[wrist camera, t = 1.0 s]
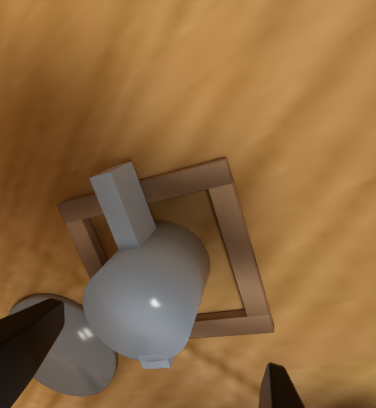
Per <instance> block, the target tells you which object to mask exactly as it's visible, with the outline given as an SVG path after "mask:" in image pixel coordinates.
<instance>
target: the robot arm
mask: <svg viewBox="0 0 376 408" xmlns="http://www.w3.org/2000/svg"><path fill="white" fill-rule="evenodd" d="M64 324H65V306H64V302H63V301H61V300H58V299H55V298H49V299H46V300H44V301H42V302H39V303H37V304H35V305H32V306H30V307H28V308H25V309H23V310H21V311H18V312H16V313H14V314H11V315H9V316H7V317H4V318H2V319H0V408H11V407H12V405H13V404H14V403H15V401H16V400H17V399H18V397H19V396H20V395H21V393H22V392H23V391H24V389H25V388H26V387H27V385H28V384H29V382H30V381H31V380H32V378H33V377H34V375H35V374H36V372H37V371H38V369H39V367H40V366H41V364H42V362H43V361H44V359H45V357H46V356H47V354H48V353H49V351H50V349H51V348H52V346H53V344H54V343H55V341H56V339H57V338H58V336H59V334H60V333H61V331H62V329H63V327H64ZM259 408H305V406H304V404H303V403H302V401H301V399H300V397H299V395H298V393H297V391H296V389H295V387H294V385H293V383H292V381H291V379H290V377H289V375H288V373H287V371H286V369H285V368H284V367H283V366H281V365H278V364H275V363H271V362H270V363H268V365H267V367H266V370H265V374H264V377H263V380H262V383H261V388H260V397H259Z"/></svg>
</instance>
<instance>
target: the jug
mask: <svg viewBox="0 0 376 408" xmlns="http://www.w3.org/2000/svg"><path fill="white" fill-rule="evenodd" d="M89 179H90V182H91V184H92V187H93V189H94V191H95V194H96V196H97V199H98V201H99V203H100V206H101V208H102V211H103V213H104V216H105V218H106V220H107V223H108V225H109V228H110V230H111V232H112V235H113V237H114V240H115V242H116V244H117V247H118V249H119V250H118V251H117V252H116V253H115V254H114V255H113V256H112V257H111V258H110V259H109V260H108V261H107V262H106V263H105V264H104V266H103V267H102V268H101V269H100V270H99V271H98V272H97V273H96V274H95V275H94V276H93V277H92V278H91V280H90V281H89V282H88V284H87V286H86V288H85V290H84V294H83V309H84V313H85V317H86V319H87V321H88V323H89V325H90V327H91V329H92V330H93V331H94V333H95V334H96V335H97V336H98V338H99V339H100V340H101V341H102V342H103V343H105V344H106V345H107V346H108V347H110V348H111V349H113V350H114V351H116V352H117V353H119V354H121V355H123V356H126V357H128V358H131V359H134V360H139V361H140V363H141V365H142V367H143V369H154V368H171V365H172V363H173V360H174V357H173V356H175V355H177V354H178V353H179V352H180V351H181V350H182V349H183V348H184V347H185V345H186V344H187V342H188V339H189V337H190V334H191V331H192V327H193V324H194V321H195V318H196V315H197V312H198V308H199V305H200V302H201V299H202V296H203V293H204V290H205V286H206V283H207V280H208V277H209V273H210V259H209V255H208V252H207V250H206V248H205V246H204V244H203V243H202V242H201V240H200V239H199V238H198V237H197V236H196V235H195V234H194V233H193V232H191V231H190V230H188V229H187V228H185V227H183V226H181V225H178V224H176V223H172V222H165V221H158V222H154V221H153V218H152V215H151V213H150V210H149V207H148V204H147V202H146V199H145V196H144V194H143V191H142V188H141V185H140V183H139V180H138V177H137V175H136V172H135V169H134V166H133V164H132V161H130V162H127V163H123V164H120V165H117V166H113V167H111V168H109V169H107V170H105V171H103V172H101V173H99V174H97V175H95V176H93V177H91V178H89Z"/></svg>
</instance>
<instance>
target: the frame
mask: <svg viewBox="0 0 376 408" xmlns="http://www.w3.org/2000/svg"><path fill="white" fill-rule="evenodd" d="M139 183H140V185H141V188H142V191H143V194H144V196H145V199H146V202H147V204H149V203H153V202H157V201H162V200H166V199H170V198H174V197H178V196H182V195H186V194H191V193H195V192H199V191H203V190H207V189H208V190H209V193H210V196H211V200H212V203H213V206H214V209H215V213H216V216H217V219H218V222H219V226H220V229H221V232H222V235H223V239H224V242H225V245H226V248H227V252H228V255H229V258H230V261H231V265H232V268H233V271H234V275H235V278H236V281H237V284H238V288H239V291H240V294H241V297H242V301H243V304H244V307H245V310H237V311H227V312H217V313H207V314H198V315H196V318H195V321H194V324H193V327H192V331H191V334H190V337H189V339H194V338H207V337H221V336H234V335H247V334H260V333H274V323H273V319H272V316H271V312H270V309H269V305H268V301H267V298H266V294H265V291H264V287H263V284H262V280H261V277H260V273H259V269H258V266H257V262H256V259H255V255H254V252H253V248H252V245H251V241H250V237H249V234H248V230H247V227H246V223H245V220H244V216H243V213H242V209H241V205H240V202H239V198H238V195H237V191H236V188H235V184H234V181H233V177H232V173H231V170H230V166H229V163H228V159H227V157H225V158H221V159H217V160H214V161H210V162H206V163H203V164H199V165H195V166H192V167H188V168H184V169H181V170H177V171H173V172H170V173H166V174H162V175H158V176H155V177H151V178H147V179H144V180H140V181H139ZM57 207H58V209H59V211H60V213H61V216H62V218H63V220H64V222H65V224H66V227H67V229H68V231H69V233H70V235H71V237H72V240H73V242H74V244H75V246H76V248H77V251H78V253H79V255H80V257H81V259H82V262H83V264H84V266H85V268H86V270H87V273H88V275H89V277H90V279H91V278H92V277H93V276H94V275H95V274H96V273H97V272H98V271H99V270H100V269H101V268H102V267H103V266H104V264H105V263H106V262H107V259H106V257H105V254H104V252H103V250H102V247H101V245H100V243H99V240H98V238H97V236H96V233H95V231H94V229H93V226H92V224H91V222H90V219H89V218H91V217H95V216H100V215H104V213H103V211H102V208H101V206H100V203H99V201H98V199H97V196H96V194H95V193H92V194H89V195H85V196H81V197H78V198H74V199H70V200H67V201H63V202H61V203H60V204H58V205H57Z"/></svg>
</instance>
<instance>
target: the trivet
mask: <svg viewBox="0 0 376 408" xmlns="http://www.w3.org/2000/svg"><path fill="white" fill-rule="evenodd" d="M49 298H55V299H58V300H61V301H63V302H64V306H65V324H64V327H63V329H62V331H61V333H60V334H59V336H58V338H57V339H56V341H55V343H54V344H53V346H52V348H51V349H50V351H49V353H48V354H47V356H46V357H45V359H44V361H43V362H42V364H41V366H40V367H39V369H38V371H37V372H36V374H35V375H34V377H33V378H35V379H36V380H37V381H39V382H40V383H42V384H43V385H45V386H47V387H49V388H51V389H53V390H55V391H57V392H60V393H63V394H67V395H72V396H90V395H94V394H96V393H99V392H100V391H102V390H104V389H105V388H106V387H107V386H108V384H109V383H110V381H111V379H112V378H113V376H114V374H115V372H116V369H117V365H118V355H117V352H116V351H114V350H113V349H111V348H110V347H108V346H107V345H106V344H105V343H103V342H102V341H101V340H100V339H99V338H98V336H97V335H96V334H95V333H94V331H93V330H92V329H91V327H90V325H89V323H88V321H87V319H86V317H85V313H84V309H83V306H82V305H80V304H78V303H76V302H75V301H73V300H70V299H68V298H65V297H62V296H59V295H53V294H36V295H31V296H29V297H27V298H25V299H23V300H22V301H21V302H19V303H18V304H17V305H16V306H15V307H14V308H13V309H12V310H11V311H10V313H9V314H8V316H9V315H11V314H14V313H16V312H18V311H21V310H23V309H25V308H28V307H30V306H32V305H35V304H37V303H39V302H42V301H44V300H46V299H49Z"/></svg>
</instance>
